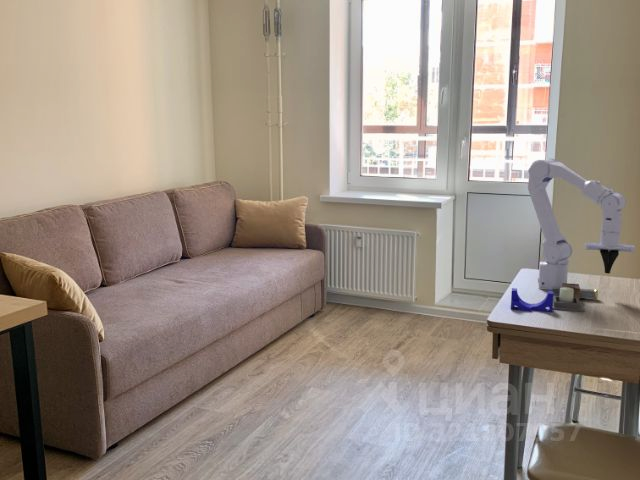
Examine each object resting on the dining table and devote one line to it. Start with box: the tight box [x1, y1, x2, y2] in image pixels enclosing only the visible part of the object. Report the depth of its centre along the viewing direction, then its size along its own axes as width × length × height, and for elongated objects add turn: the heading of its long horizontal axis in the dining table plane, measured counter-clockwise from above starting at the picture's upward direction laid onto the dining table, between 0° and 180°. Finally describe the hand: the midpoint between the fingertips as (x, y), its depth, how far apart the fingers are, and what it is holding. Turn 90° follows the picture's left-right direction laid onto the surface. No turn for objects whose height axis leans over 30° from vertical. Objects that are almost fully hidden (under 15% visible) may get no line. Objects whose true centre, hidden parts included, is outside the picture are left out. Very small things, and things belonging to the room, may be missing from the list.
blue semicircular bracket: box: [510, 287, 553, 313], centre depth 203 cm, size 12×4×6 cm, turn 72°
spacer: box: [559, 287, 574, 303], centre depth 207 cm, size 4×4×5 cm
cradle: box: [552, 296, 585, 313], centre depth 208 cm, size 10×10×2 cm
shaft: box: [551, 287, 599, 300], centre depth 216 cm, size 14×3×3 cm, turn 74°
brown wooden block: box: [562, 282, 581, 301], centre depth 216 cm, size 5×6×4 cm
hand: (607, 272), depth 216 cm, fingers closed
